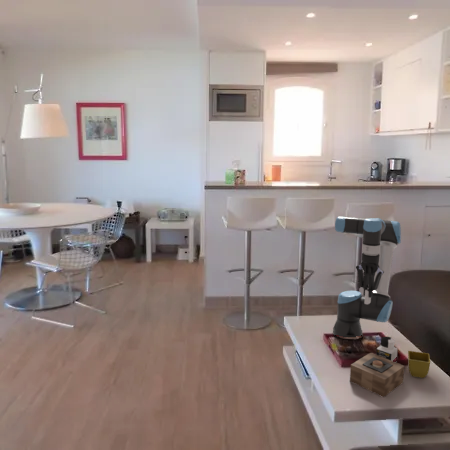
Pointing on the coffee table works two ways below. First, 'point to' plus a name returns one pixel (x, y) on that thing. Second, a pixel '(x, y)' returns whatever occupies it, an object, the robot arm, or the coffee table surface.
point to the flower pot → (418, 363)
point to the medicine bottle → (387, 348)
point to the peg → (377, 364)
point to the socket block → (377, 374)
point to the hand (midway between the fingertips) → (367, 303)
